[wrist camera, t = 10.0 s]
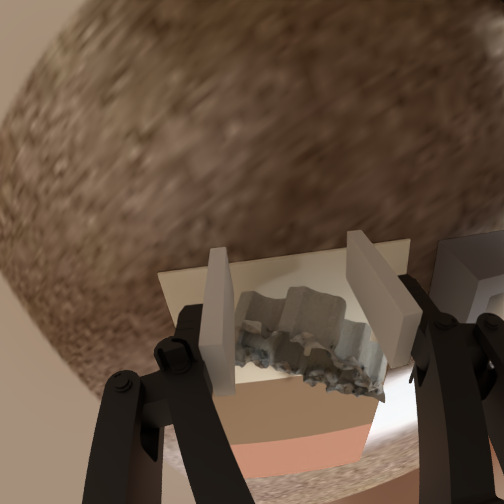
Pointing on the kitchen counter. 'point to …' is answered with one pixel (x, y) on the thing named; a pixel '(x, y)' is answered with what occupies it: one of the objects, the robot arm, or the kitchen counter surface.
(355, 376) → the egg carton
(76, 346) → the kitchen counter surface
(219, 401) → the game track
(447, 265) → the housing
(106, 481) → the robot arm
